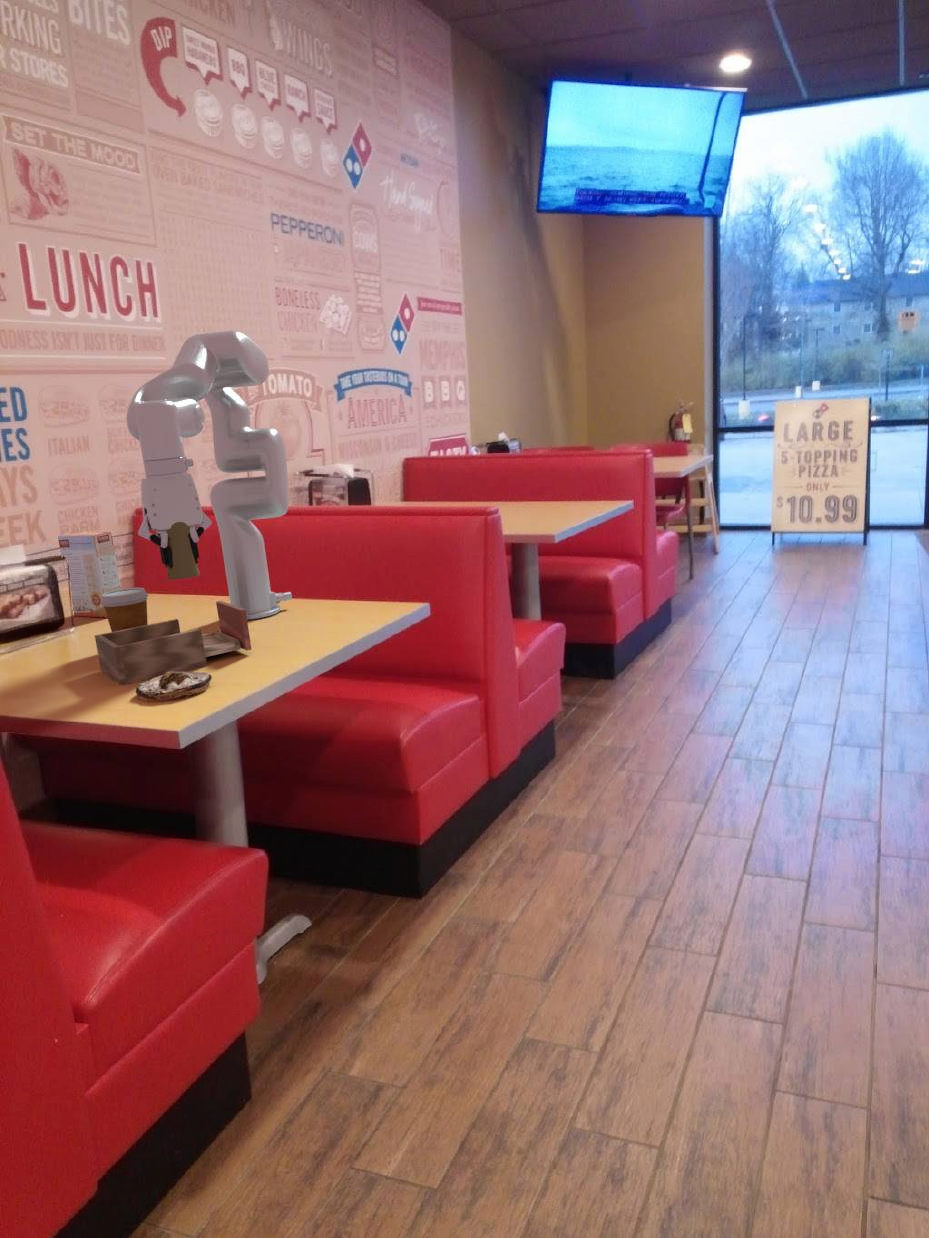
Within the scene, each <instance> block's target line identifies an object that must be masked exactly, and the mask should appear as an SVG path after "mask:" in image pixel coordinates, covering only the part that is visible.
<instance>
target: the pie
mask: <svg viewBox="0 0 929 1238" xmlns="http://www.w3.org/2000/svg"><path fill="white" fill-rule="evenodd" d="M211 681H212V675H211V673H208V672H204V671H203V672H200V671H181V672H173V671H169V672H166V673H165V674H164V675H161V676H158V677H155V678H151V679H148V680H146V681H144V682H141V683H139V685H137V686H136V688H135V694H136V696H137V697H138V700H140V701H143V702H146V703H148V702H149V703H150V702H151V703H156V702H157V703H159V702H161V703H163V702H170V701H171V702H173V701H180V700H185V699H187V698H188V699H189V698H192V697H196V696H199V695H202V694H204V693H207V690H208V689H209V688H211V685H210V684H211Z"/></svg>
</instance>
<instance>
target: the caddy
mask: <svg viewBox="0 0 929 1238" xmlns="http://www.w3.org/2000/svg"><path fill="white" fill-rule="evenodd" d="M179 621H180V620H179V619H178V618H174V619H171V620H170V619H169V620H165V621H160V622H155V623H150V624H148V625H144V626H140V627H135V628H130V629H125V630H120V631H115V632H112V631H110V632H106V633H105V632H104V633H100V634H96V635H94V638H95V639H94V640H95V645H96V650H97V656H98V661H99V667H100V670H101V672H102V673H104V674H105V675H107V677H109V678H110V679H112V680H113V681H115V682H116V683H117V684H118V685H120V686H124V685H129V684H133V683H137V682H141V681H148V680H151V679H153V678H155V677H158V676H161V675H164V674H165V673H166V672H169V671H173V672H183V671H184V672H187V671H189V670H194V669H198V668H202V667H206V666H207V665H208V664H207V657H205V651H204V644H203V638H202V635H203V631H202V629H200V628H198V629H193V630H189V631H188V630H187V631H183V632H181V628H180V622H179Z"/></svg>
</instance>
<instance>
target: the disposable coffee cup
mask: <svg viewBox="0 0 929 1238" xmlns="http://www.w3.org/2000/svg"><path fill="white" fill-rule="evenodd" d="M148 596H149V594H148V593H147V591H146V590H145V588H144V587H130V588H121V590H115V591H111V592H107V593H104V594H103V595H102V600H101V601H100V602H101V603H102V605H103V606H104V609H105V612H106V615H107V618H106V619H107V621H108V625H109V627H110V630H111V631H110V632H115V631H120V630H125V629H130V628H135V627H140V626H144V625H149V624H148V623H149V622H148V602H147V600H148Z"/></svg>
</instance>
